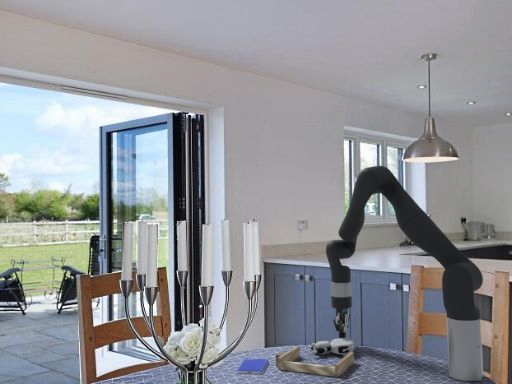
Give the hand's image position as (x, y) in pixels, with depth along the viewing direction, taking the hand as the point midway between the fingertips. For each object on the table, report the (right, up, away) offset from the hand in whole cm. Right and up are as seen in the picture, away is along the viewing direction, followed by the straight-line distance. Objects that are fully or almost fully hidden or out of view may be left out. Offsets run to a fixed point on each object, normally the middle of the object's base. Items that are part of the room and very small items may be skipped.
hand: (342, 342), depth 195 cm
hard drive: (-33, -2, -24) cm, 40 cm away
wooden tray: (-13, -1, -23) cm, 27 cm away
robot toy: (-5, -2, -10) cm, 11 cm away
